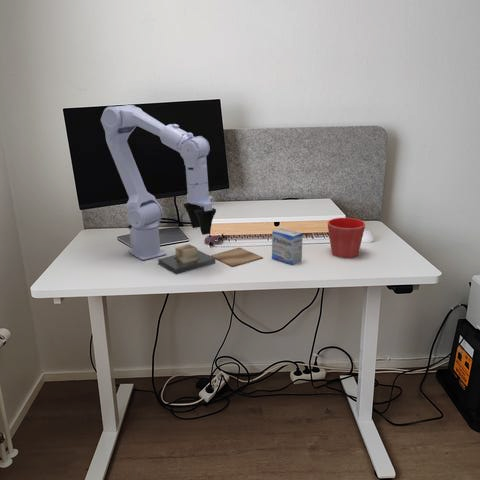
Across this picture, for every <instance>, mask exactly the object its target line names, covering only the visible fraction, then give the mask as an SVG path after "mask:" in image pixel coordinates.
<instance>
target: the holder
mask: <svg viewBox="0 0 480 480" xmlns="http://www.w3.org/2000/svg"><path fill="white" fill-rule="evenodd" d="M197 255H198V260H196V261H192V262H188V263H184V264H183V263H181V262H179V261H178V260H176V254H172V255H169V256H165V257H162V258H158V259H157V260H158V261H157V262H158V265H160V266H161V267H163V268H164V269H166V270H168V271H169V272H170V273H171V272H172V273H173V274H175V275H179V274H182V273H186V272H190V271H193V270H197V269H201V268H203V267H207V266H212V265H215V264H216V262H217V261H216V259H215V258H213V257H211V255H209V254H206V253H205V252H203V251H201V250H199V249H197Z"/></svg>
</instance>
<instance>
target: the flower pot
mask: <svg viewBox="0 0 480 480" xmlns="http://www.w3.org/2000/svg"><path fill="white" fill-rule="evenodd" d="M365 227H366V223H365V221H363V220H361V219H357V218H355V217H354V218H353V217H335V218H331V219H329V220H328V221H327V229H328V230H327V231H328V238H329V245H330V250H331V253H332V256H335V257H338V258H346V259H350V258H351V259H352V258H356V257H357V256H359V252H360V249H361V248H360V247H361V245H362V240H363V237H364V231H365Z"/></svg>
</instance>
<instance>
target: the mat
mask: <svg viewBox="0 0 480 480" xmlns="http://www.w3.org/2000/svg"><path fill="white" fill-rule="evenodd" d="M210 256H211V257H213V258H215V260H217V261H218V262H220V263H221V262H222V263H223V264H225V265H227V266H229V267H231V268H235V267H238V266H241V265H245V264H248V263H252V262H255V261H258V260H262V259H264V258H263V256H261V255H258V254H257V253H254V252H251V251H249V250H247V249H246V248H243V247H236V248H233V249H229V250H225V251H221V252H218V253H214V254H211V255H210Z"/></svg>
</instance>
